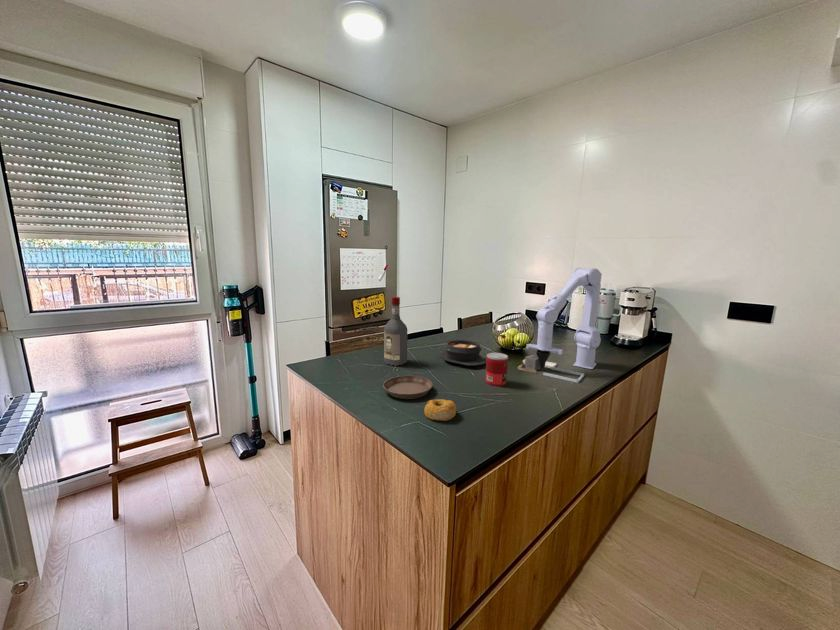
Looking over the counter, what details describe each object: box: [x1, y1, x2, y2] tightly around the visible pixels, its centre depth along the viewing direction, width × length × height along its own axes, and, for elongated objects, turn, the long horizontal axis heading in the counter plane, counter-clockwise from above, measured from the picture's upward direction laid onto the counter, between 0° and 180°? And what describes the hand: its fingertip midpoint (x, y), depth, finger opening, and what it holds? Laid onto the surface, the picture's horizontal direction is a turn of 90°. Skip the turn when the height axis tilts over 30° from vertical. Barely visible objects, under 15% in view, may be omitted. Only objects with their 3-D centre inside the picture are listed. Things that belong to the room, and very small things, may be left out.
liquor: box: [383, 296, 408, 367], centre depth 148 cm, size 9×9×30 cm
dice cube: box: [524, 354, 542, 371], centre depth 145 cm, size 5×5×5 cm
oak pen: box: [517, 362, 538, 374], centre depth 145 cm, size 10×8×1 cm
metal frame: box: [542, 366, 585, 383], centre depth 137 cm, size 10×14×1 cm
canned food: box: [485, 352, 509, 387], centre depth 127 cm, size 8×8×11 cm
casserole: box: [439, 339, 486, 367], centre depth 154 cm, size 25×19×8 cm
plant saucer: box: [382, 375, 433, 400], centre depth 119 cm, size 18×18×3 cm
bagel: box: [423, 398, 457, 422], centre depth 102 cm, size 10×11×5 cm
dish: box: [544, 361, 558, 369], centre depth 149 cm, size 6×6×1 cm
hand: (542, 367), depth 142 cm, fingers closed
